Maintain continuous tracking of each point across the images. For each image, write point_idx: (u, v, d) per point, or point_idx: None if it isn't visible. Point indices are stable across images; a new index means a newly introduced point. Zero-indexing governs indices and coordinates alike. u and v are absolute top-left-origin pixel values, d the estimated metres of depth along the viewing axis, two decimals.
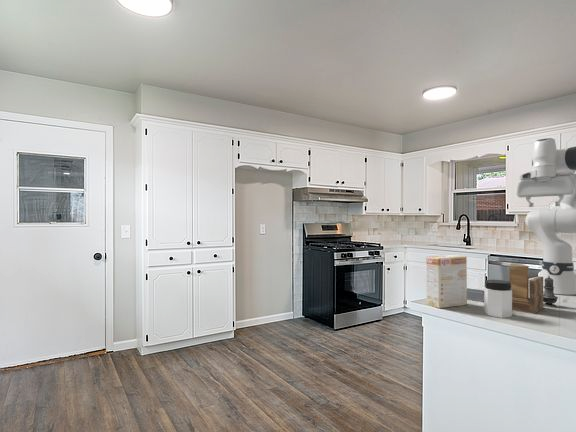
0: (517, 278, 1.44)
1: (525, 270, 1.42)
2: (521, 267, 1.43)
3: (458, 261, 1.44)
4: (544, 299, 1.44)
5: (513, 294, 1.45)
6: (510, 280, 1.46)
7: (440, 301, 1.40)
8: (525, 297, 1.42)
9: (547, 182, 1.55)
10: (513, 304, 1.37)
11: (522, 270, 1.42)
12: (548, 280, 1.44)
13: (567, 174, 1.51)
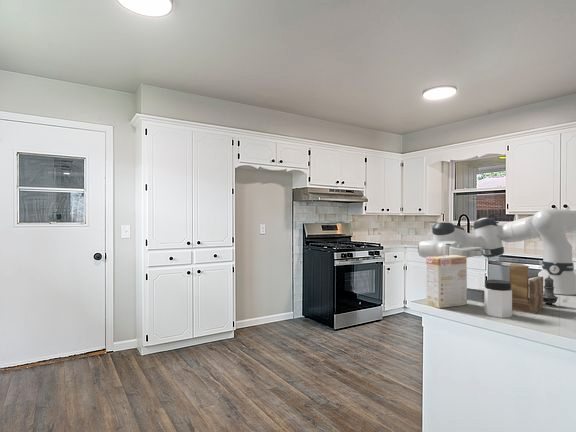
0: (517, 278, 1.44)
1: (525, 270, 1.42)
2: (521, 267, 1.43)
3: (458, 261, 1.44)
4: (544, 299, 1.44)
5: (513, 294, 1.45)
6: (510, 280, 1.46)
7: (440, 301, 1.40)
8: (525, 297, 1.42)
9: (462, 247, 1.62)
10: (513, 304, 1.37)
11: (522, 270, 1.42)
12: (548, 280, 1.44)
13: None
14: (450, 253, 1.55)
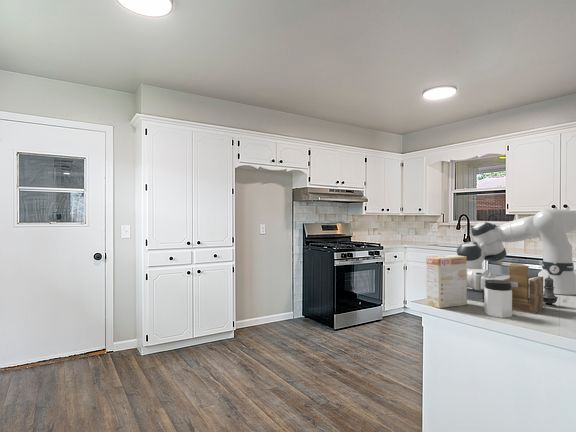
0: (517, 278, 1.44)
1: (525, 270, 1.42)
2: (521, 267, 1.43)
3: (458, 261, 1.44)
4: (544, 299, 1.44)
5: (513, 294, 1.45)
6: (510, 280, 1.46)
7: (440, 301, 1.40)
8: (525, 297, 1.42)
9: (493, 276, 1.53)
10: (513, 304, 1.37)
11: (522, 270, 1.42)
12: (548, 280, 1.44)
13: None
14: (482, 284, 1.46)
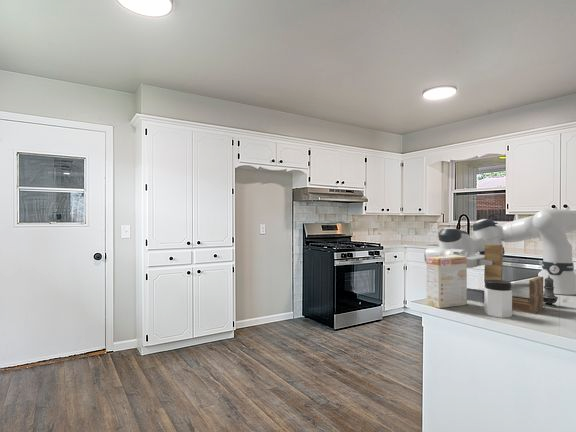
0: (491, 257, 1.50)
1: (499, 249, 1.48)
2: (495, 246, 1.49)
3: (458, 261, 1.44)
4: (544, 299, 1.44)
5: (488, 272, 1.51)
6: (485, 259, 1.52)
7: (440, 301, 1.40)
8: (499, 274, 1.48)
9: (470, 256, 1.59)
10: (513, 304, 1.37)
11: (497, 249, 1.49)
12: (548, 280, 1.44)
13: None
14: None
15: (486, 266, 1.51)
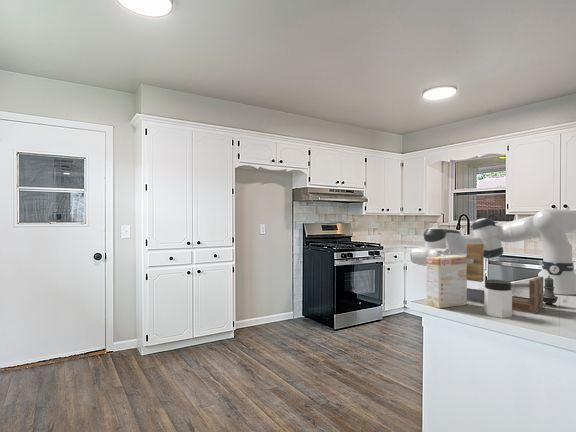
0: (473, 255, 1.56)
1: (480, 247, 1.54)
2: (476, 245, 1.55)
3: (458, 261, 1.44)
4: (544, 299, 1.44)
5: (470, 270, 1.57)
6: (467, 257, 1.58)
7: (440, 301, 1.40)
8: (480, 272, 1.54)
9: None
10: (513, 304, 1.37)
11: (478, 248, 1.55)
12: (548, 280, 1.44)
13: None
14: None
15: (468, 264, 1.57)
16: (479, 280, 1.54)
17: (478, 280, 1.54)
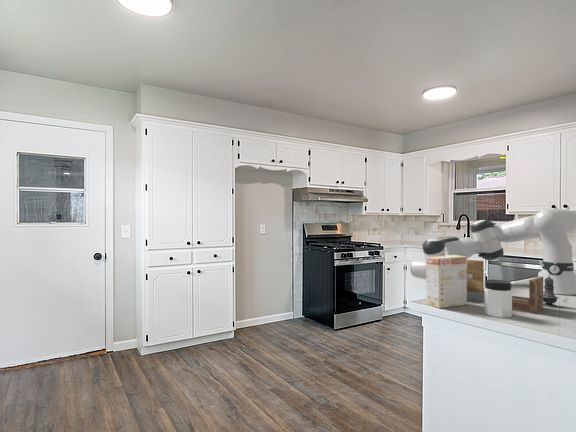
0: (473, 272, 1.56)
1: (480, 264, 1.54)
2: (476, 262, 1.55)
3: (458, 261, 1.44)
4: (544, 299, 1.44)
5: (470, 287, 1.57)
6: None
7: (440, 301, 1.40)
8: (480, 289, 1.54)
9: None
10: (513, 304, 1.37)
11: (478, 265, 1.55)
12: (548, 280, 1.44)
13: None
14: None
15: (468, 281, 1.57)
16: None
17: None
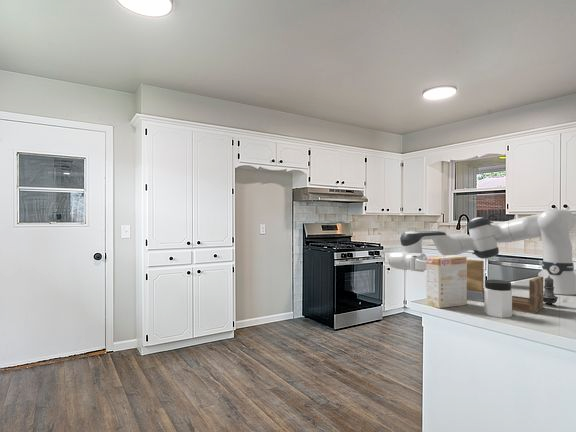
0: (473, 272, 1.56)
1: (480, 264, 1.54)
2: (476, 262, 1.55)
3: (458, 261, 1.44)
4: (544, 299, 1.44)
5: (470, 287, 1.57)
6: (467, 274, 1.58)
7: (440, 301, 1.40)
8: (480, 289, 1.54)
9: None
10: (513, 304, 1.37)
11: (478, 265, 1.55)
12: (548, 280, 1.44)
13: None
14: (416, 265, 1.66)
15: (468, 281, 1.57)
16: None
17: None
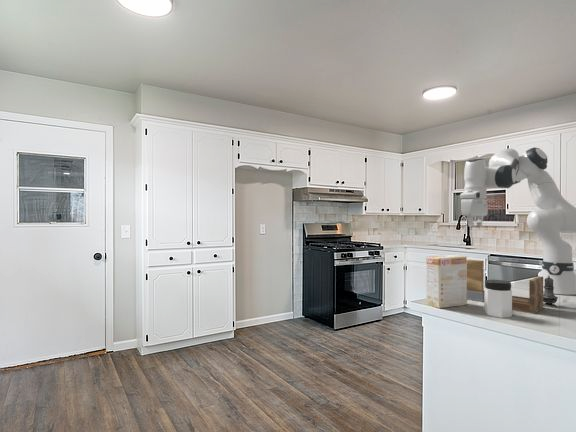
0: (473, 272, 1.56)
1: (480, 264, 1.54)
2: (476, 262, 1.55)
3: (458, 261, 1.44)
4: (544, 299, 1.44)
5: (470, 287, 1.57)
6: (467, 274, 1.58)
7: (440, 301, 1.40)
8: (480, 289, 1.54)
9: (480, 203, 1.60)
10: (513, 304, 1.37)
11: (478, 265, 1.55)
12: (548, 280, 1.44)
13: None
14: (466, 201, 1.54)
15: (468, 281, 1.57)
16: None
17: None
